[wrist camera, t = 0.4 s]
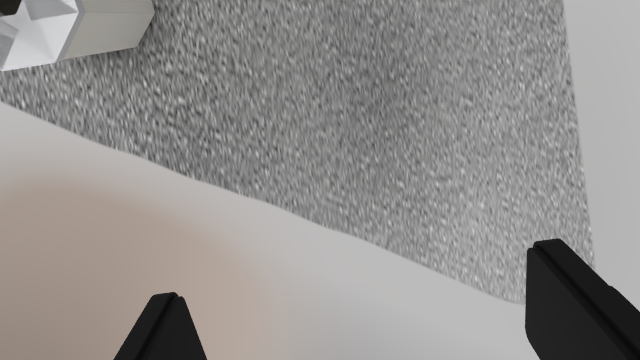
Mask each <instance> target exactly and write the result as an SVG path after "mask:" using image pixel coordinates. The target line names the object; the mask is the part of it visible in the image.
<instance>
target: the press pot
mask: <svg viewBox="0 0 640 360" xmlns="http://www.w3.org/2000/svg"><path fill="white" fill-rule="evenodd" d="M154 14H155V11H154V7H153V4H152V0H22V1H21V2H20V1H0V71H6V70H12V69H19V68H25V67H31V66H37V65H43V64H49V63H55V62H61V61H63V59H69V58H75V57H81V56H87V55H93V54H99V53H105V52H111V51H117V50H123V49H129V48H135V47H137V46H138V44H139V42H140V40H141V39H142V37H143V35H144V33H145V31H146V29H147V27H148V26H149V24H150V22H151V20H152V18H153V16H154Z"/></svg>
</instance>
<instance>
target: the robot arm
mask: <svg viewBox="0 0 640 360" xmlns="http://www.w3.org/2000/svg"><path fill="white" fill-rule="evenodd" d="M525 315H526V316H525V317H526V318H525V329H526V334H527V338H528V340H529V342H530V344H531V345H532V347H533V349H534V350H535V352H536V353H537V355H538V357H539V358H540V360H640V312H639V311H638V310H637V309H636V308H635V307H634V306H633V305H632V304H631V303H630V302H629V301H628V300H627V299H626V298H625V297H624V296H623V295H622V294H621V293H620V292H618V291H617V290H616V289H615V288H613V287H612V286H609V285H608V284H607V283H606V282H605V281H604V280H603V279H602V278H601V277H600V276H598V274H596V273H595V272H594V271H593V270H592V269H591V268H590V267H589V266H588V265H587V264H586V263H585V262H584V261H583V260H582V259H581V258H580V257H579V256H578V255H577V254H576V253H575V252H574V251H573V250H572V249H571V248H570V247H569V246H568V245H567V244H565V243H564V242H563V241H562V240H561V239H558V238H557V239H550V240H543V241H536V242H535V243H534V245H533V248H529V249H528V250H527V273H526V314H525ZM114 360H207V358H206V355H205V353H204V350H203V348H202V345H201V342H200V340H199V337H198V334H197V331H196V329H195V326H194V323H193V321H192V318H191V315H190V313H189V310H188V307H187V305H186V302H185V300H184V298H183V297H181V296H180V297H178V295H177V294H176V293H175V292H170V293H163V294H156V295H153V296H152V297H151V299H150V300H149V302H148V303H147V305H146V307H145V308H144V310H143V312H142V314H141V315H140V317H139V318H138V320H137V322H136V323H135V325H134V327H133V328H132V330H131V332H130V333H129V335H128V337H127V338H126V340H125V341H124V343H123V345H122V346H121V348H120V350H119V351H118V353H117V355H116V356H115V358H114Z"/></svg>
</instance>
